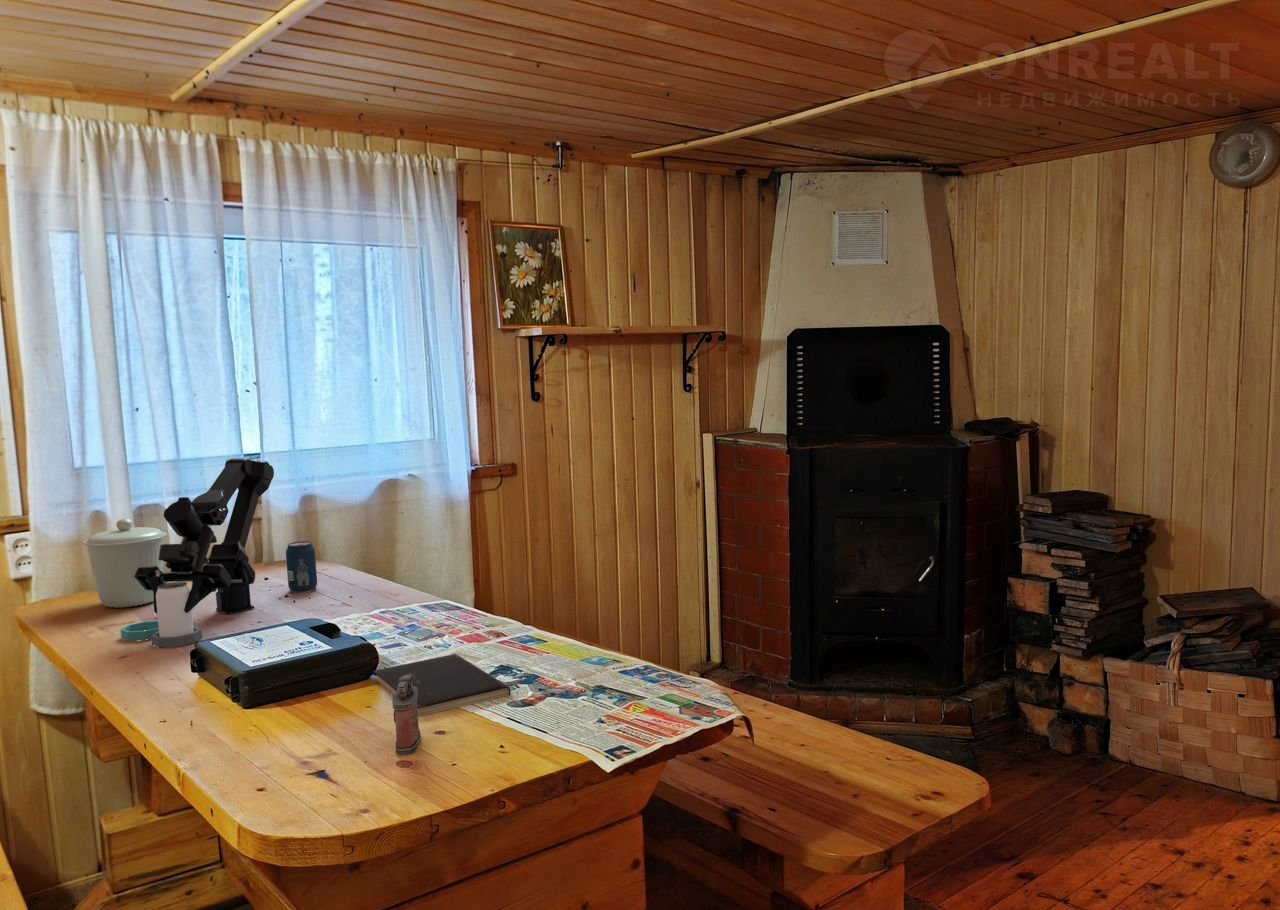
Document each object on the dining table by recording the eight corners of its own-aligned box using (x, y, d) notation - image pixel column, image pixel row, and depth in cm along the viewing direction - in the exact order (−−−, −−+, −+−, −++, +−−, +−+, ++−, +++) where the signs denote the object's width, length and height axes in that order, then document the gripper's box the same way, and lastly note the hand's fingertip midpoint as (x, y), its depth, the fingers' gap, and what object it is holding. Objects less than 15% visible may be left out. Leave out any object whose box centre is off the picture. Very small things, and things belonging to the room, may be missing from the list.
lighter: (401, 735, 149) (396, 670, 148) (423, 733, 149) (419, 669, 148) (392, 756, 141) (387, 688, 140) (416, 754, 141) (411, 686, 140)
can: (180, 646, 203) (175, 588, 202) (153, 645, 205) (147, 588, 203) (200, 637, 210) (195, 581, 208) (173, 636, 211) (168, 581, 210)
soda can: (306, 585, 255) (303, 539, 254) (323, 588, 251) (319, 541, 250) (283, 591, 250) (279, 544, 248) (299, 594, 246) (296, 546, 244)
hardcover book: (418, 720, 157) (417, 706, 156) (374, 683, 176) (373, 670, 176) (511, 698, 165) (510, 685, 165) (459, 665, 185) (458, 653, 184)
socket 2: (189, 633, 213) (188, 624, 213) (207, 639, 207) (206, 630, 207) (147, 642, 207) (146, 633, 207) (164, 650, 201) (163, 640, 201)
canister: (178, 603, 242) (170, 518, 239) (94, 617, 232) (85, 527, 229) (165, 590, 256) (158, 510, 254) (86, 602, 246) (78, 519, 244)
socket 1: (159, 627, 219) (158, 618, 219) (175, 633, 213) (174, 624, 213) (116, 636, 213) (116, 627, 213) (132, 643, 207) (132, 634, 207)
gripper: (134, 529, 209) (108, 592, 199) (220, 526, 208) (197, 590, 198) (158, 558, 218) (134, 620, 208) (240, 555, 217) (220, 618, 207)
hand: (170, 612), depth 205 cm, fingers closed on can, 6 cm apart
